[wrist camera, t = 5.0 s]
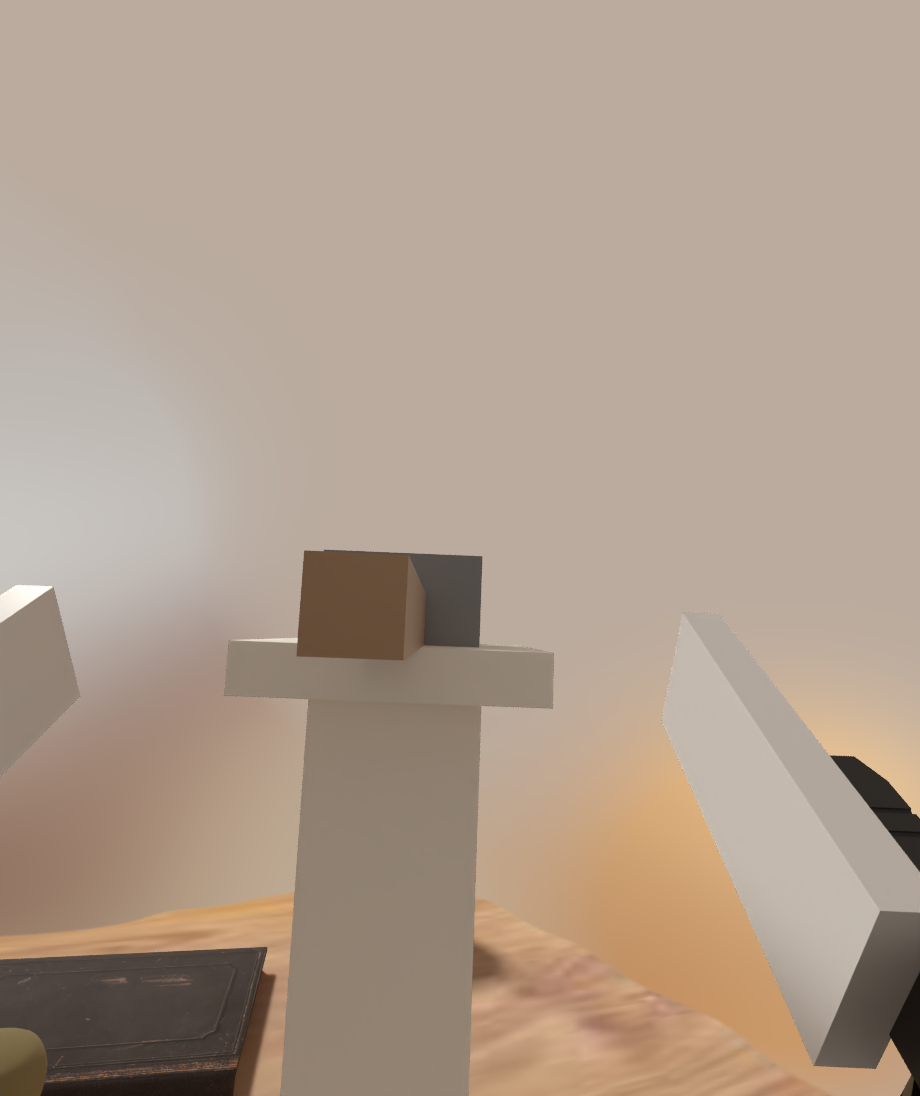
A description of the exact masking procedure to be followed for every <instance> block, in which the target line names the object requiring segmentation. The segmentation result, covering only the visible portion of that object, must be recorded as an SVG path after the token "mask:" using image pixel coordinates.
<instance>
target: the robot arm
mask: <svg viewBox="0 0 920 1096" xmlns="http://www.w3.org/2000/svg"><path fill="white" fill-rule="evenodd" d="M79 697H80V693H79V689H78V685H77V681H76V677H75V673H74V669H73V664H72V660H71V656H70V652H69V648H68V644H67V640H66V636H65V632H64V628H63V624H62V620H61V616H60V611H59V607H58V603H57V599H56V595H55V591H54V587H53V586H28V585H16V586H15V587H13V588H11V589H10V590H8V591H7V592H5V593H3V594H2V595H0V777H1V776H2V775H3V774H4V773H5V772H6V770H8V768H10V767H11V765H13V764H14V763H15V762H16V760H18V758H20V757H21V756H22V754H24V752H25V751H27V749H28V748H29V747H30V746H31V745H32V744H33V743H34V742H35V741H36V740H37V739H38V738H39V737H40V736H41V735H42V734H43V733H44V732H45V731H46V730H47V729H48V728H49V727H50V726H51V725H52V724H53V723H54V722H55V721H56V720H57V719H58V718H59V717H60V716H61V715H62V714H63V713H64V712H65V711H66V710H67V709H68V708H69V707H70V706H71V705H72V704H73V703H74V701H76V700H77V699H78V698H79ZM661 721H662V724H663V726H664V728H665V730H666V733H667V735H668V737H669V739H670V742H671V744H672V746H673V749H674V751H675V753H676V755H677V757H678V760H679V762H680V764H681V767H682V768H683V771H684V773H685V776H686V778H687V780H688V782H689V785H690V787H691V789H692V791H693V794H694V796H695V798H696V800H697V803H698V805H699V807H700V809H701V812H702V814H703V816H704V819H705V821H706V823H707V826H708V828H709V830H710V832H711V835H712V837H713V839H714V841H715V844H716V846H717V848H718V850H719V852H720V855H721V857H722V859H723V862H724V864H725V866H726V869H727V871H728V873H729V875H730V878H731V880H732V882H733V884H734V886H735V889H736V891H737V893H738V896H739V898H740V900H741V903H742V905H743V907H744V909H745V912H746V914H747V916H748V918H749V921H750V923H751V925H752V927H753V930H754V932H755V934H756V936H757V938H758V941H759V943H760V946H761V948H762V950H763V952H764V954H765V957H766V959H767V961H768V964H769V966H770V968H771V970H772V973H773V975H774V977H775V980H776V982H777V984H778V986H779V988H780V991H781V993H782V995H783V998H784V1000H785V1002H786V1004H787V1007H788V1009H789V1011H790V1013H791V1016H792V1018H793V1020H794V1023H795V1025H796V1027H797V1029H798V1031H799V1034H800V1036H801V1038H802V1041H803V1043H804V1045H805V1047H806V1050H807V1052H808V1054H809V1056H810V1059H811V1061H812V1063H813V1065H814V1066H827V1067H828V1066H829V1067H848V1068H872V1069H876V1067H877V1065H878V1063H879V1061H880V1059H881V1057H882V1055H883V1053H884V1051H885V1049H886V1047H887V1045H888V1043H889V1041H890V1039H892V1041H893V1042H894V1044H895V1046H896V1048H897V1049H898V1051H899V1053H900V1055H901V1057H902V1058H903V1060H904V1062H905V1064H906V1065H907V1067H908V1069H909V1071H910V1073H911V1074H912V1075H911V1077H910V1079H909V1081H908V1082H907V1084H906V1086H905V1088H904V1090H903V1092H902V1094H901V1095H900V1096H920V818H919V817H918V816H917V815H916V814H912V813H911V808H910V807H909V806H908V804H907V803H906V802H905V801H904V800H903V799H902V797H901V796H900V795H899V794H898V793H897V792H896V790H895V789H894V788H893V787H892V786H891V785H890V783H889V782H888V781H887V780H886V779H884V778H883V777H881V776H880V775H879V774H877V773H876V772H875V771H873V770H872V769H871V768H869V767H868V766H866V765H865V764H864V763H862V762H861V761H860V760H858V759H856V758H855V757H852V756H850V757H849V756H829V755H828V753H827V752H826V750H825V749H824V748H823V747H822V745H821V744H820V743H819V742H818V740H817V739H816V738H815V736H814V735H813V734H812V732H811V731H810V730H809V729H808V727H807V726H806V725H805V723H804V722H803V721H802V720H801V718H800V717H799V716H798V714H797V713H796V712H795V711H794V709H793V708H792V707H791V705H790V704H789V703H788V702H787V700H786V699H785V698H784V696H783V695H782V694H781V692H780V691H779V690H778V689H777V687H776V686H775V685H774V683H773V682H772V681H771V680H770V679H769V677H768V676H767V674H766V673H765V672H764V671H763V669H762V668H761V667H760V665H759V664H758V663H757V661H756V660H755V659H754V658H753V656H752V655H751V654H750V652H749V651H748V650H747V649H746V647H745V646H744V645H743V644H742V642H741V641H740V640H739V638H738V637H737V636H736V634H735V633H734V632H733V631H732V629H731V628H730V627H729V625H728V624H727V623H726V622H725V620H724V619H723V618H722V616H721V615H720V614H708V613H707V614H706V613H684V612H683V613H682V618H681V623H680V629H679V634H678V639H677V644H676V649H675V654H674V659H673V664H672V669H671V674H670V680H669V685H668V689H667V694H666V699H665V705H664V710H663V715H662V720H661Z"/></svg>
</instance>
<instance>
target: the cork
mask: <svg viewBox="0 0 920 1096" xmlns="http://www.w3.org/2000/svg"><path fill="white" fill-rule="evenodd" d="M47 1065H48V1061H47V1055H46V1050H45V1048H44V1045H43V1043H42V1041H41V1040H40V1038H39V1037H38V1035H36V1034H35V1033H33V1032H32V1031H30V1030H25V1029H20V1028H0V1096H40V1095H41V1092H42V1089H43V1086H44V1082H45V1078H46V1072H47Z"/></svg>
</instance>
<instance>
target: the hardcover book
mask: <svg viewBox="0 0 920 1096" xmlns="http://www.w3.org/2000/svg"><path fill="white" fill-rule="evenodd" d="M266 953H267V947H258V948H237V949H216V950H194V951H173V952H152V953H131V954H109V955H88V956H67V957H45V958H24V959H3V960H0V1028H20V1029H25V1030H30V1031H32V1032H33V1033H35V1034H36V1035H38V1037H39V1038H40V1040H41V1041H42V1043H43V1045H44V1048H45V1050H46V1055H47V1061H48V1065H47V1072H46V1078H45V1082H44V1086H43V1089H42V1092H41V1095H40V1096H233V1091H234V1080H235V1074H236V1070H237V1066H238V1062H239V1058H240V1054H241V1050H242V1046H243V1042H244V1039H245V1035H246V1031H247V1027H248V1023H249V1019H250V1015H251V1011H252V1007H253V1003H254V1000H255V996H256V992H257V988H258V984H259V980H260V976H261V972H262V968H263V964H264V961H265V957H266Z"/></svg>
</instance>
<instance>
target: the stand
mask: <svg viewBox="0 0 920 1096" xmlns="http://www.w3.org/2000/svg"><path fill="white" fill-rule="evenodd" d="M297 642H298V638H279V639H253V640H252V639H251V640H229V644H228V656H227V666H226V678H225V688H224V689H225V690H224V696H243V697H269V698H294V699H295V698H296V699H308V712H307V726H306V741H305V754H304V768H303V782H302V797H301V810H300V824H299V825H300V826H299V839H298V852H297V866H296V881H295V894H294V909H293V923H292V937H291V951H290V965H289V979H288V993H287V1007H286V1021H285V1035H284V1049H283V1063H282V1077H281V1091H280V1096H468V1094H469V1063H470V1033H471V1003H472V973H473V942H474V912H475V882H476V852H477V820H478V791H479V790H478V789H479V760H480V731H481V706H499V707H500V706H501V707H526V708H550V709H552V708H553V671H554V653H551V652H547V651H542V650H537V649H533V648H528V647H524V646H513V645H487V644H479V647H454V646H428V645H424V646H422V647H421V648H420V649H418V650H417V651H416V652H414V653H413V654H412V655H410V656H409V657H407V658H406V659H405V660H378V659H351V658H325V657H299V656H296V655H297Z"/></svg>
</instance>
